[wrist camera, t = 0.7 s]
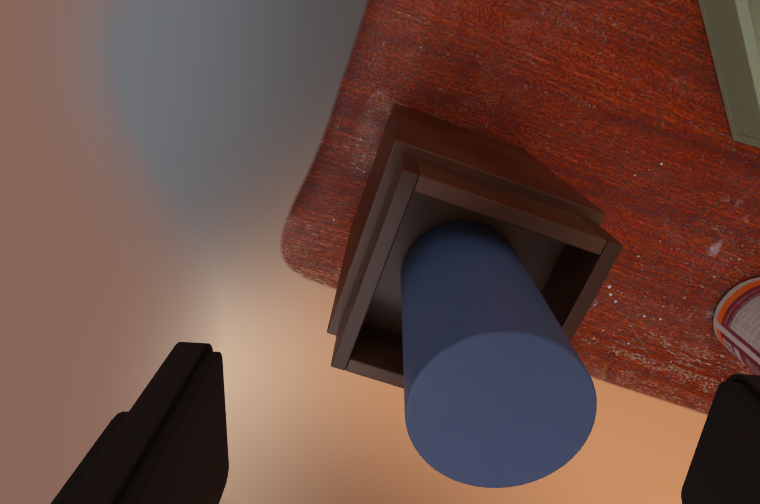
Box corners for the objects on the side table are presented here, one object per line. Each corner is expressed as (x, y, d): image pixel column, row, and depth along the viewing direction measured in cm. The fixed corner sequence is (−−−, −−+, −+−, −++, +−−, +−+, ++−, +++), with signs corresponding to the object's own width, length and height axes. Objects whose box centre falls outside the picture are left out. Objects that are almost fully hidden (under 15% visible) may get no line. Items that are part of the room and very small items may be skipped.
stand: (350, 230, 36) (317, 371, 21) (394, 103, 33) (395, 154, 17) (471, 271, 37) (529, 436, 21) (525, 150, 34) (639, 239, 18)
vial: (380, 250, 22) (372, 376, 14) (493, 199, 21) (560, 301, 13) (429, 345, 24) (450, 511, 15) (536, 302, 23) (621, 452, 14)
